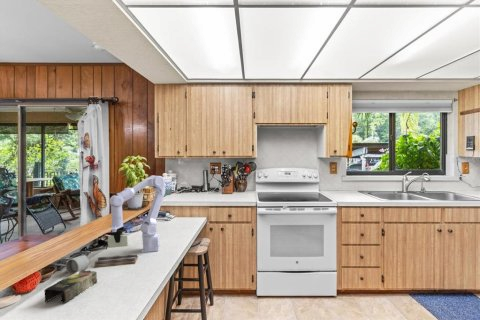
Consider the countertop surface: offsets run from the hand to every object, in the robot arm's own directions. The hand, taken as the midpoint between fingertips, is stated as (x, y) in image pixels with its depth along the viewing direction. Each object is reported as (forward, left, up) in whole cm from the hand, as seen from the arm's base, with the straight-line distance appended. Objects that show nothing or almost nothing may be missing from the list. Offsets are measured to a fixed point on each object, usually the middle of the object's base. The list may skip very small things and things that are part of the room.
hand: (118, 241), depth 164 cm
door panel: (0, 0, -3) cm, 3 cm away
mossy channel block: (+10, +38, -10) cm, 40 cm away
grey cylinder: (+17, +14, -9) cm, 24 cm away
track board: (0, +7, -9) cm, 11 cm away
